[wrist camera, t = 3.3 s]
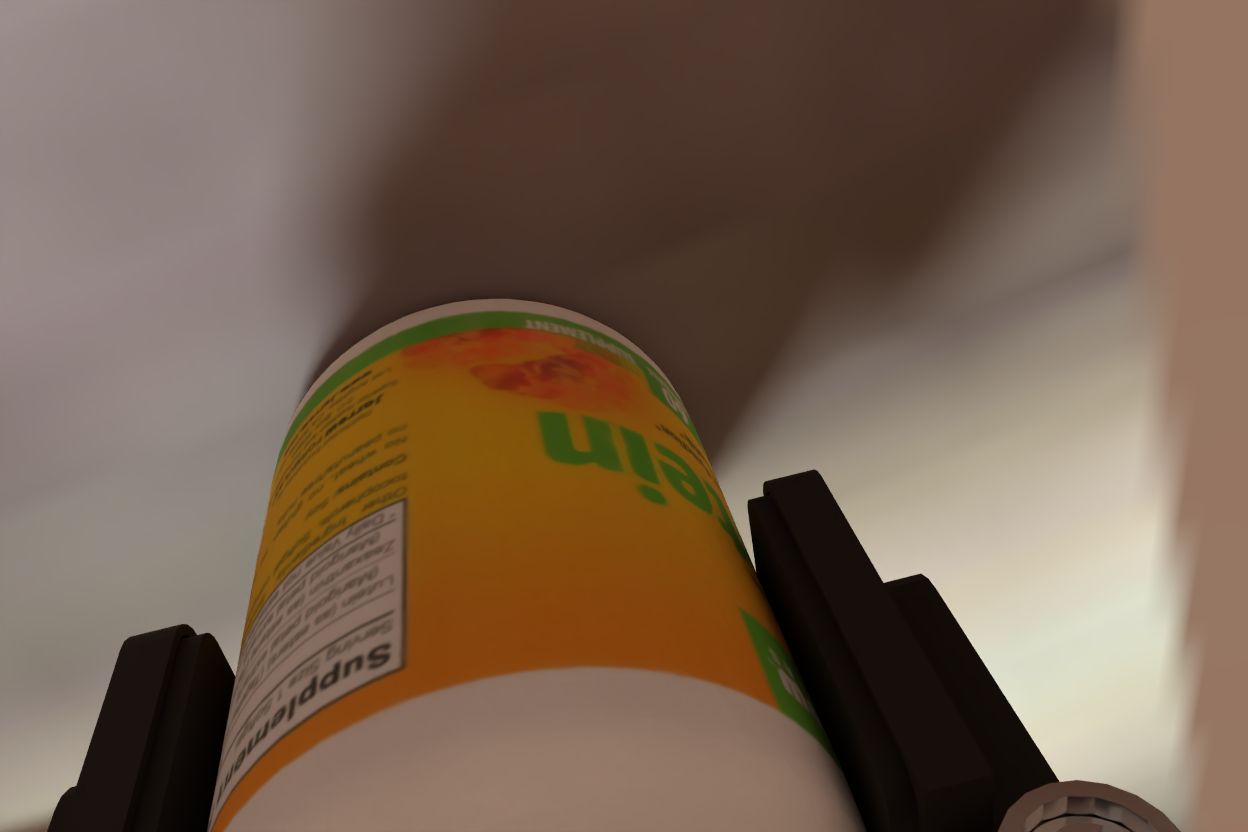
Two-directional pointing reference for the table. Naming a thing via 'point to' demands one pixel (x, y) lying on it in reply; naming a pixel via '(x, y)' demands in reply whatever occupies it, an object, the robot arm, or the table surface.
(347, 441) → the supplement bottle
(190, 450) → the table surface
